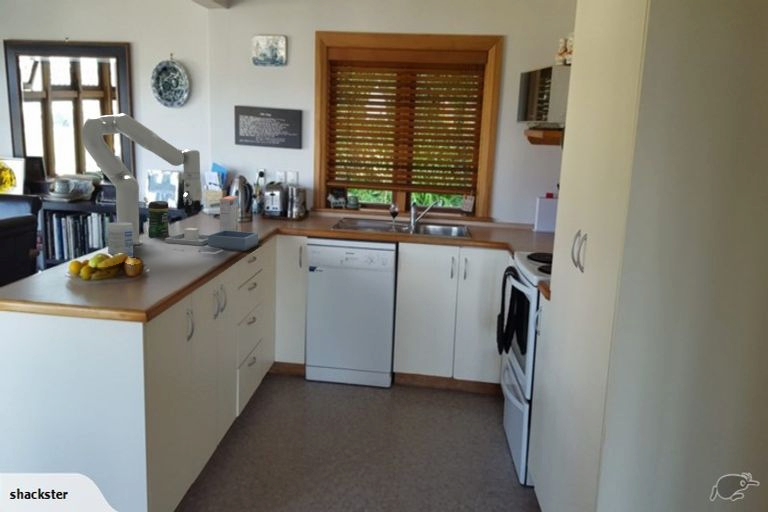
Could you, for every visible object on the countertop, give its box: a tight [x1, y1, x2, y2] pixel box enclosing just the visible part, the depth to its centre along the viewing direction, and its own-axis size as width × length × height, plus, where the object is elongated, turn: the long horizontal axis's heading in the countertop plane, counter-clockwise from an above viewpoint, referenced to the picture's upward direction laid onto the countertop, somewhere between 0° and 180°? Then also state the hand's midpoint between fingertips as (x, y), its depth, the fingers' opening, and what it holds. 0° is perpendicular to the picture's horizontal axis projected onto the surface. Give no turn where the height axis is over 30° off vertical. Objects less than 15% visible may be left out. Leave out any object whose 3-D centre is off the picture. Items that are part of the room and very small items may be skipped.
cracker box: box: [219, 195, 239, 231], centre depth 317 cm, size 14×6×21 cm, turn 177°
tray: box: [164, 232, 209, 247], centre depth 295 cm, size 18×18×3 cm
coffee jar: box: [147, 200, 170, 239], centre depth 303 cm, size 10×8×19 cm
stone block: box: [183, 227, 200, 241], centre depth 295 cm, size 5×5×6 cm
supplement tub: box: [107, 221, 134, 257], centre depth 251 cm, size 10×10×15 cm
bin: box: [207, 230, 259, 252], centre depth 293 cm, size 18×18×6 cm
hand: (192, 211), depth 293 cm, fingers open, 9 cm apart
